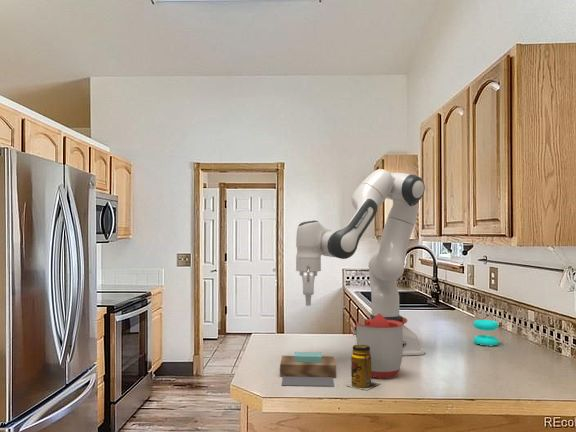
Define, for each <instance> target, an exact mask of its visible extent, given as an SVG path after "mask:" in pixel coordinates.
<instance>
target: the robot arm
mask: <svg viewBox="0 0 576 432" xmlns="http://www.w3.org/2000/svg"><path fill="white" fill-rule="evenodd" d="M425 187H426V186H425V182H424V180H423V178H422V177H421V176H418V175H416V174H409V173H406V172H389V171H388V170H386V169H382V168H378V169H375V170H374V171H373V172H372V173H370V174H369V175H368V176H366V177H365V178H364V180H363V181H362V182H360V183H359V185H358V186H357V188H356V189H355V190H354V192H353V194H352V196H351V204H352V206H353V208H354V209H355V210H356V212H355V213H354V214H353V216H352V218H351V219H350V220H349V221H348V223H347V225H346V226H345V227H342V228H340V229H338V230H337V229H335V230H333V229H332V228H328V227H326V226H324V225H323V224H321V223H320V221H319V220H307V221H303V222H300V223H299V224H298V225H297V229H296V239H295V243H296V244H295V247H296V256H295V271H296V272H299V276H301V279H302V294H303V296H305V297H304V298H305V306H307V307H310V306H311V305H312V304H311V303H312V296H313V295H314V294H315V290H314V289H315V279H316V277H317V276H318V272H321V271H322V269H321V268H322V267H321V266H322V263H321V262H322V259H321V258H322V256H324V257H330V258H337V259H341V260H346V259H349V258H351V257H352V256H353V255H355V253H356V251H357V249H358V245H359V243H360V240H361V238H362V236H363V235H364V233H365V232H366V230H367V228H368V227H369V225H370V224H371V223H372V221H373V219H374V218H375V216H376V214H377V213H378V210H379V208H380V206H381V205H382V204H383V203H384V202H385V200H387V199H388V200H392V206H391V208H390V211H389V213H388V216H387V218H386V222H385V223H384V227H383V230H382V233H381V237H380V238H381V239H380V244H379V250H378V253H375V254H374V255H372V256H371V257H370V259H369V261H368V275H369V277H368V278H369V284H370V295H371V297H370V298H371V314H370V318H369V319H373V318H374V317H375V316H376V315H377V314H379V313H380V314H381V315H382V316H383V317H384V318H385V319H386V320H394V321H399V322H402V323H403V353H402V356H424V355H425V354H426V349H425V348H424V347H422V346H420V341H419V337H418V335H417V334H416V333H415V332H414V331H412V329H410V328H408V326H406V325H405V324H407V323H408V319H407V318H406V317H404V316H402V315H400V293H399V290H398V284H397V280H399V279H400V278H401V277H402V276H403V274H404V272H405V262H406V257H407V253H408V252H407V251H408V247H409V246H408V245H409V242H410V238H411V235H412V233H413V229H414V227H415V224H416V221H417V217H418V210H419V201H420V200H422V198H423V196H424V193H425V189H426V188H425Z"/></svg>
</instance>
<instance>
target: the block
mask: <svg viewBox="0 0 576 432" xmlns="http://www.w3.org/2000/svg"><path fill="white" fill-rule="evenodd" d="M293 356H294V362H305V363H322V356H323V355H322V352H318V351H317V352H316V351H315V352H313V351H295V352H294V355H293Z"/></svg>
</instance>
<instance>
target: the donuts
mask: <svg viewBox="0 0 576 432" xmlns="http://www.w3.org/2000/svg"><path fill="white" fill-rule="evenodd" d="M472 323H473V324H472V325H473V327H474V328H475V329H477V330H480V331H491V332H492V331H496V330H497V329H498V328H499V323H498V322H497V321H496V320H492V319H491V320H490V319H476V320H474V321H473V322H472ZM473 343H474V344H475V343H477V344H482V345H497V344H498V345H499V339H498V338H497V337H495V336H492V335H488V334H480V335H479V334H478V335H475V337H474V338H473ZM477 344H476V345H477ZM498 345H497V346H498Z"/></svg>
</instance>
